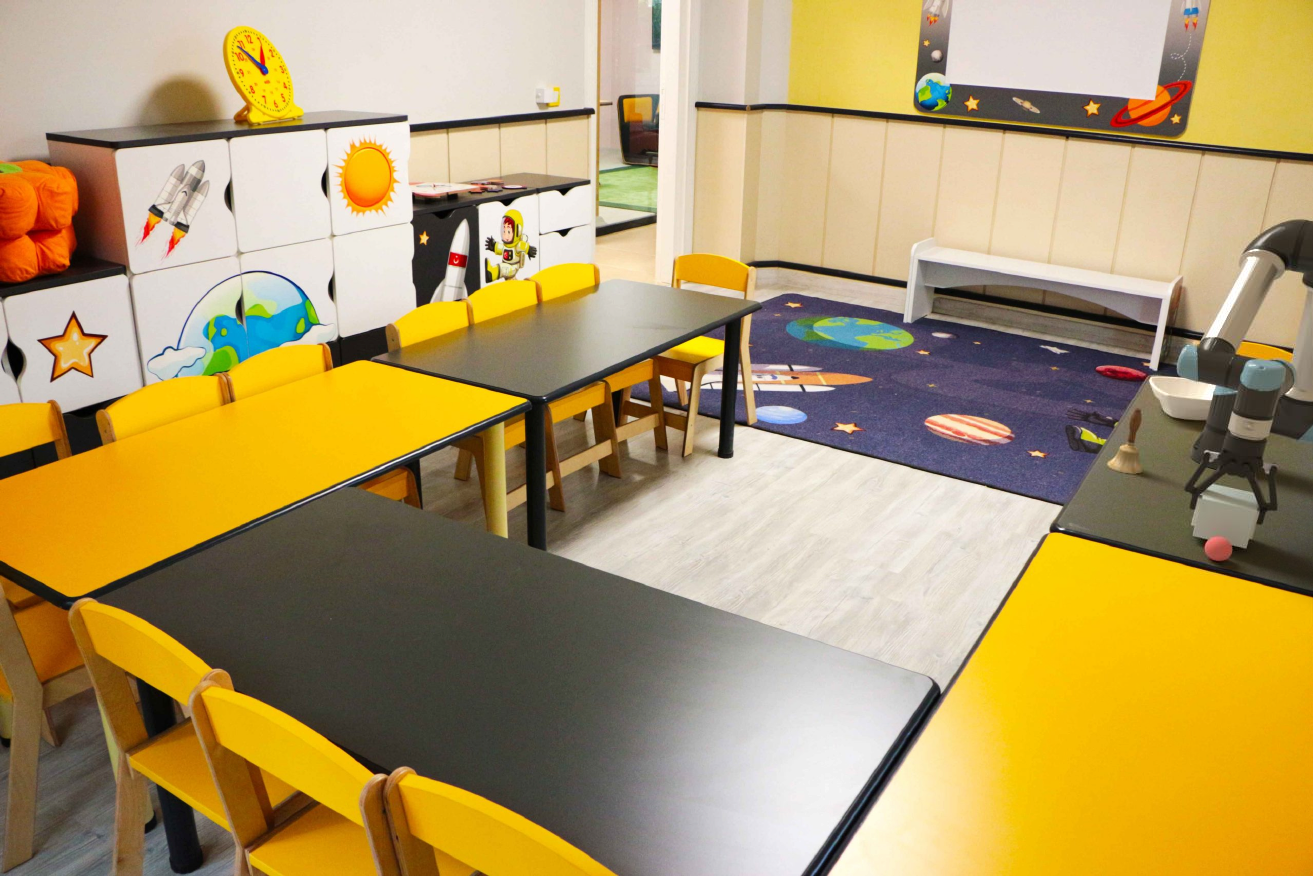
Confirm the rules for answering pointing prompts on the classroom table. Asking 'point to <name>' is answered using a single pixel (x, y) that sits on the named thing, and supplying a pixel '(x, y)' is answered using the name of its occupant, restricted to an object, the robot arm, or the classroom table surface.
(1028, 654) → the classroom table surface
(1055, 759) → the classroom table surface
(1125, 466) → the hand bell
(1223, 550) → the ball
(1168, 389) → the bowl
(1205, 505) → the rounded gray box
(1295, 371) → the robot arm
